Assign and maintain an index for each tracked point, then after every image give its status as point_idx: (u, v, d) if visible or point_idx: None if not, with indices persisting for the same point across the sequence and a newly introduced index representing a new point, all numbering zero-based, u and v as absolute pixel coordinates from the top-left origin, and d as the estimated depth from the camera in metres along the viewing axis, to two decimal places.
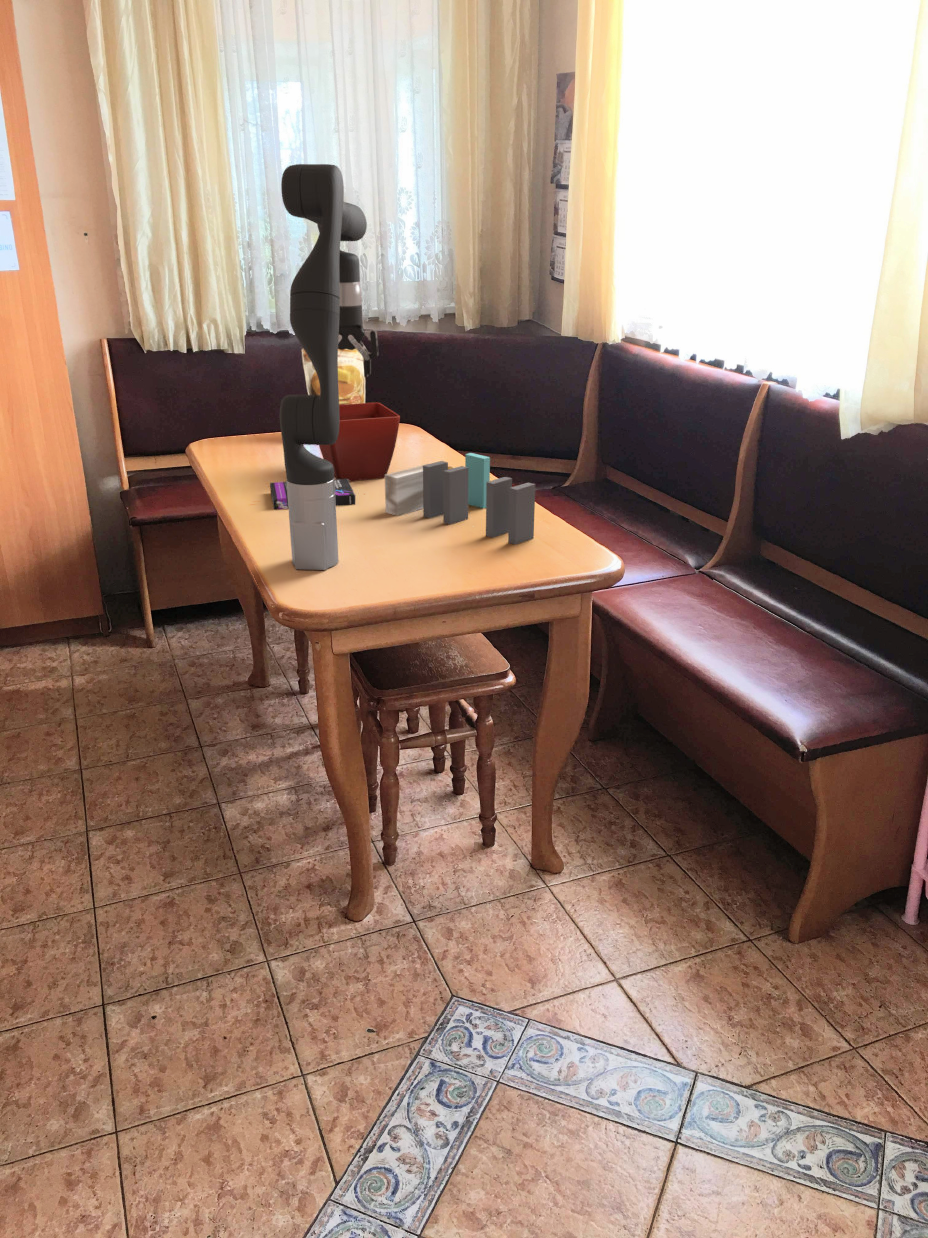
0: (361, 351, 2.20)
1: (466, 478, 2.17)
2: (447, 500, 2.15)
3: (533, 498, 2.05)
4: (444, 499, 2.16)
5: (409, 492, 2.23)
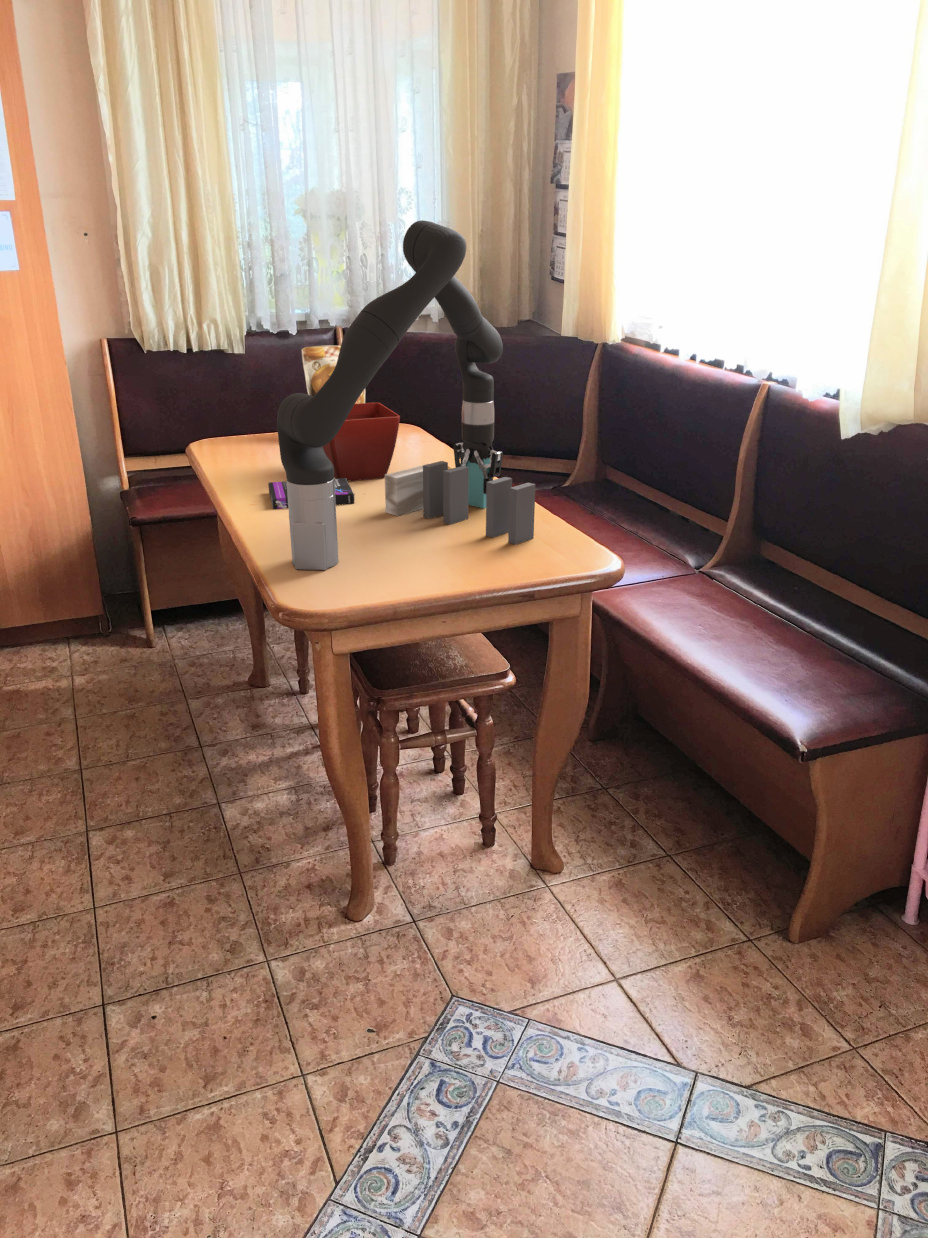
0: None
1: (466, 478, 2.17)
2: (447, 500, 2.15)
3: (533, 498, 2.05)
4: (444, 499, 2.16)
5: (409, 492, 2.23)
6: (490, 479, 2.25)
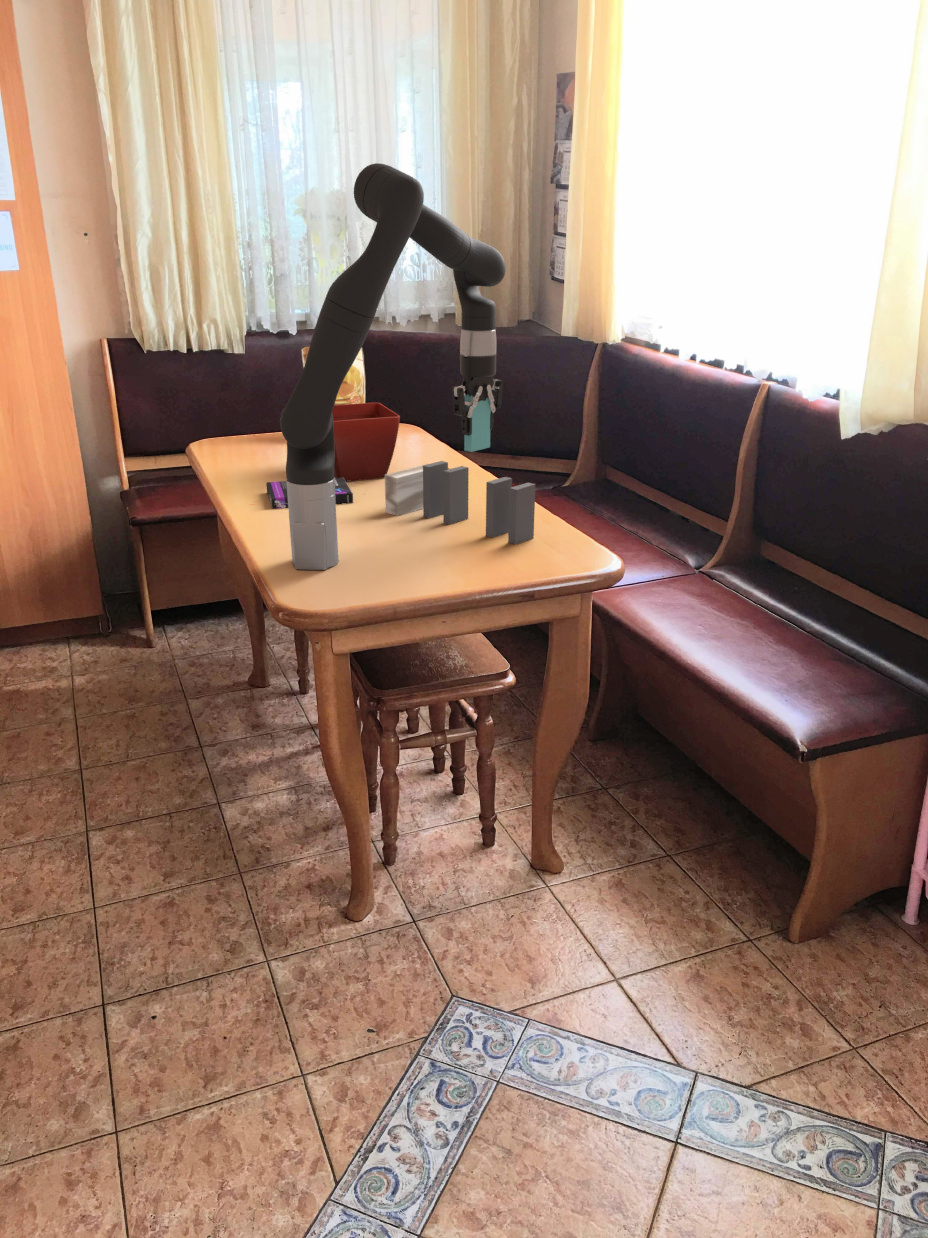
0: None
1: (466, 478, 2.17)
2: (447, 500, 2.15)
3: (533, 498, 2.05)
4: (444, 499, 2.16)
5: (409, 492, 2.23)
6: None
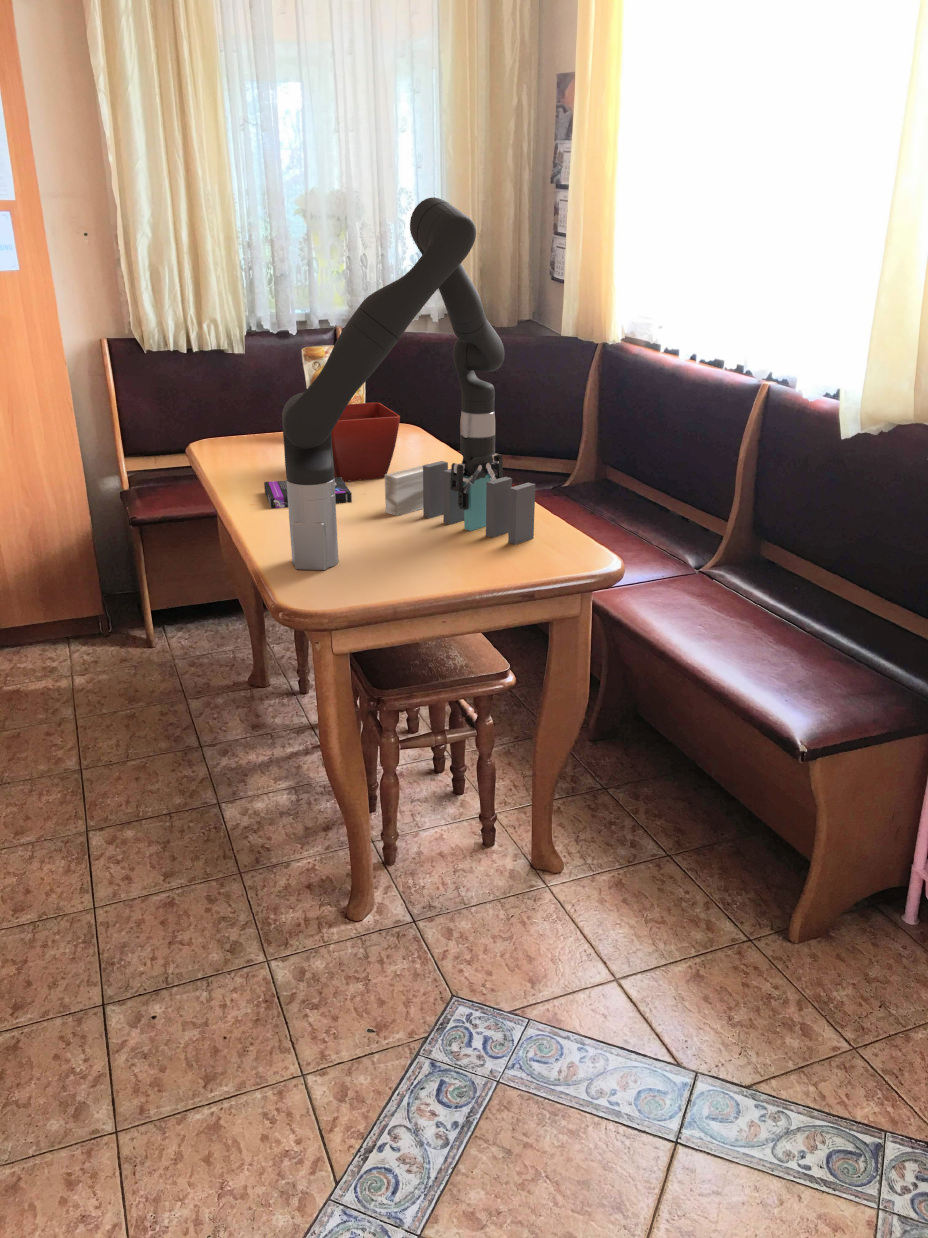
0: None
1: None
2: (447, 500, 2.15)
3: (533, 498, 2.05)
4: (444, 499, 2.16)
5: (409, 492, 2.23)
6: None
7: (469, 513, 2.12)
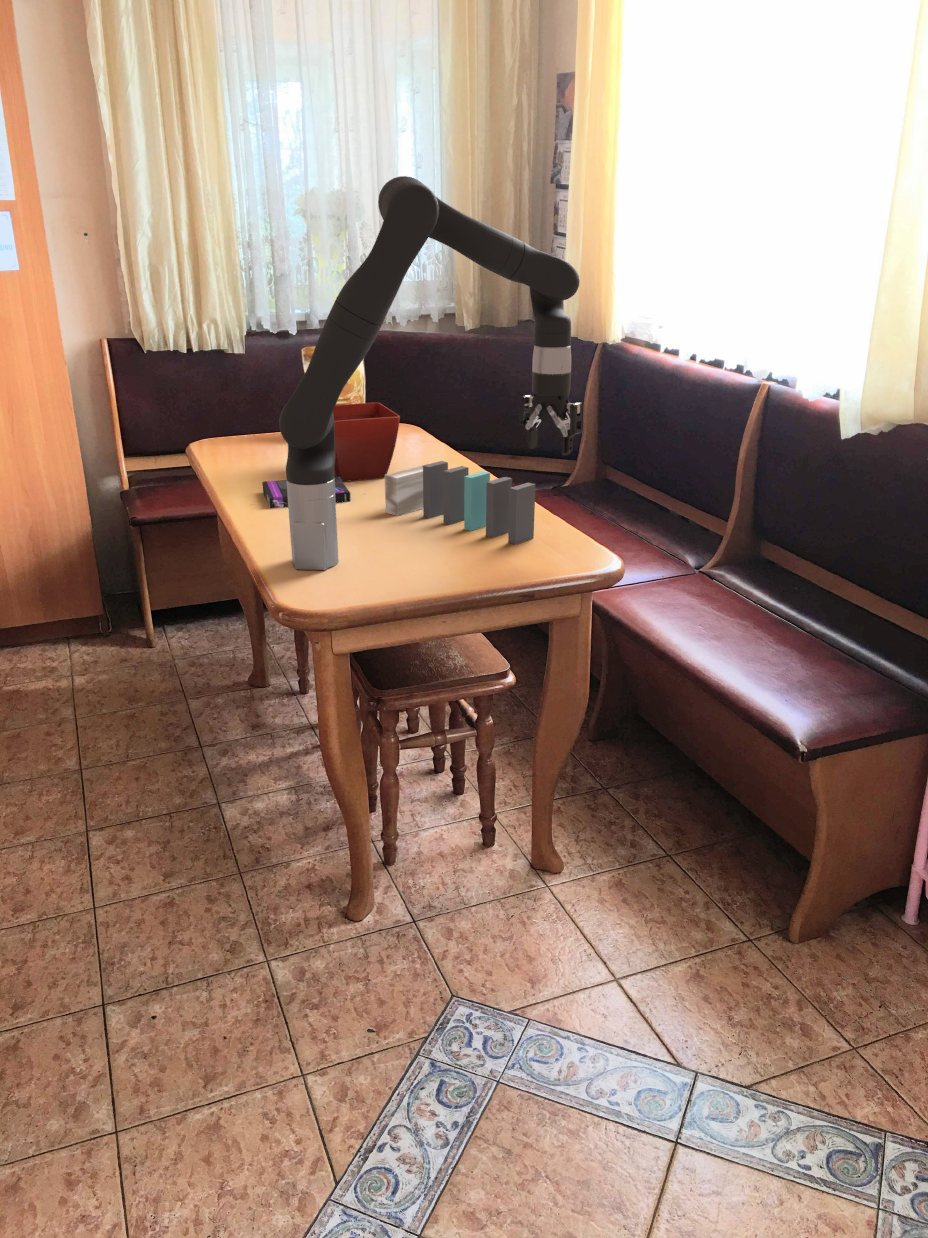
0: None
1: None
2: (447, 500, 2.15)
3: (533, 498, 2.05)
4: (444, 499, 2.16)
5: (409, 492, 2.23)
6: (570, 437, 1.90)
7: (469, 513, 2.12)
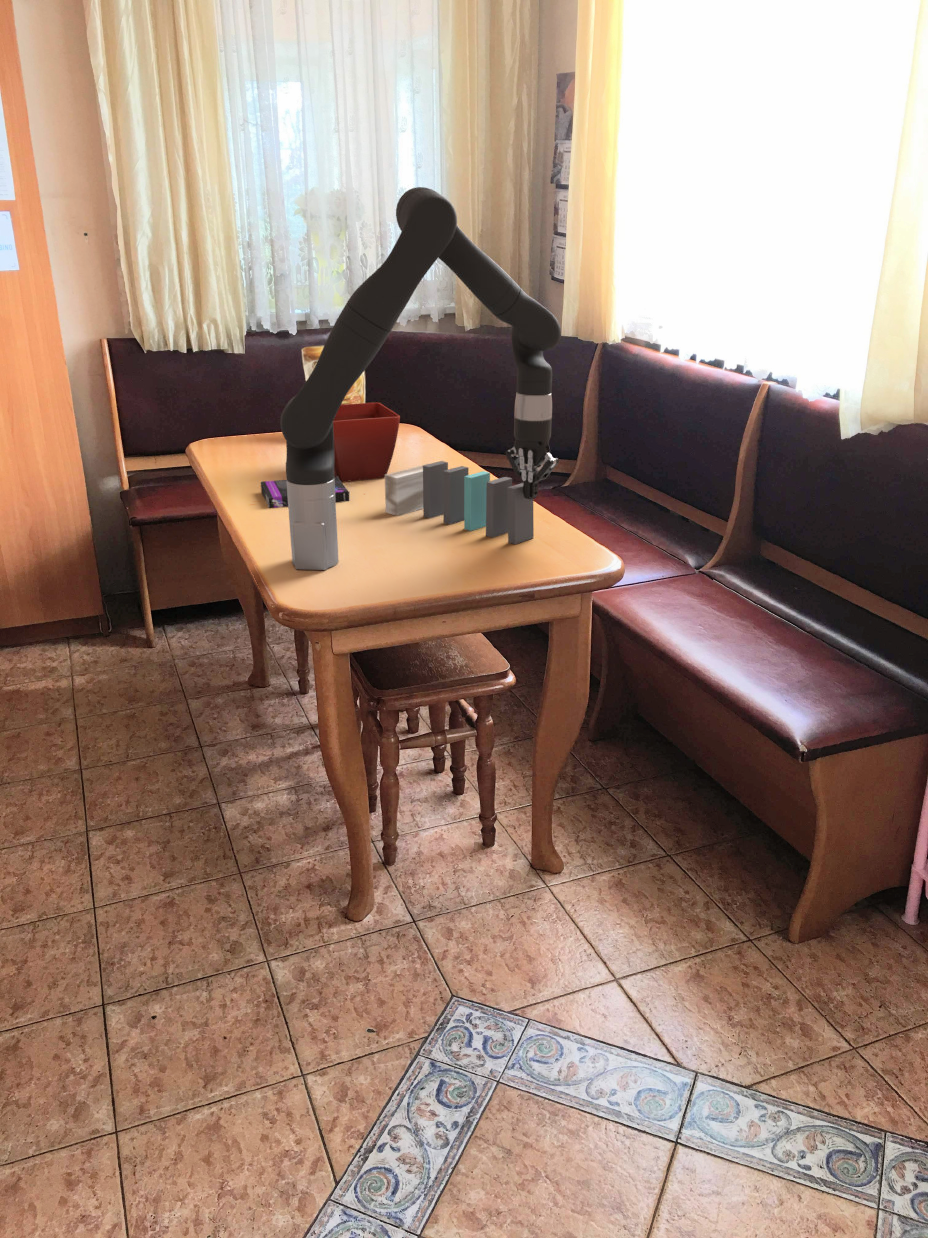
0: None
1: None
2: (447, 500, 2.15)
3: None
4: (444, 499, 2.16)
5: (409, 492, 2.23)
6: (535, 483, 1.99)
7: (469, 513, 2.12)
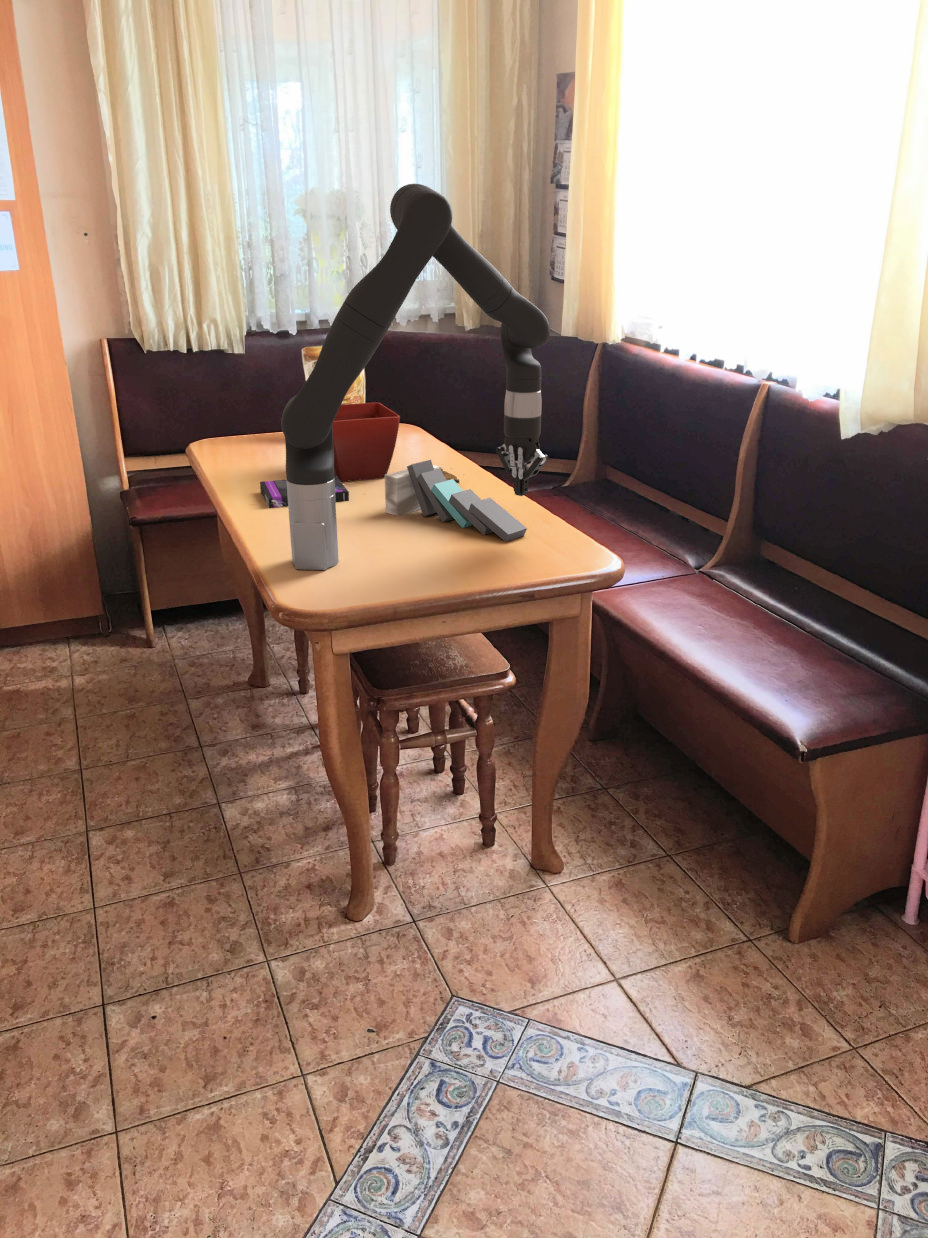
0: None
1: (442, 477, 2.22)
2: (433, 499, 2.18)
3: (497, 505, 2.13)
4: (431, 501, 2.19)
5: (409, 492, 2.23)
6: (525, 479, 2.01)
7: (454, 511, 2.15)
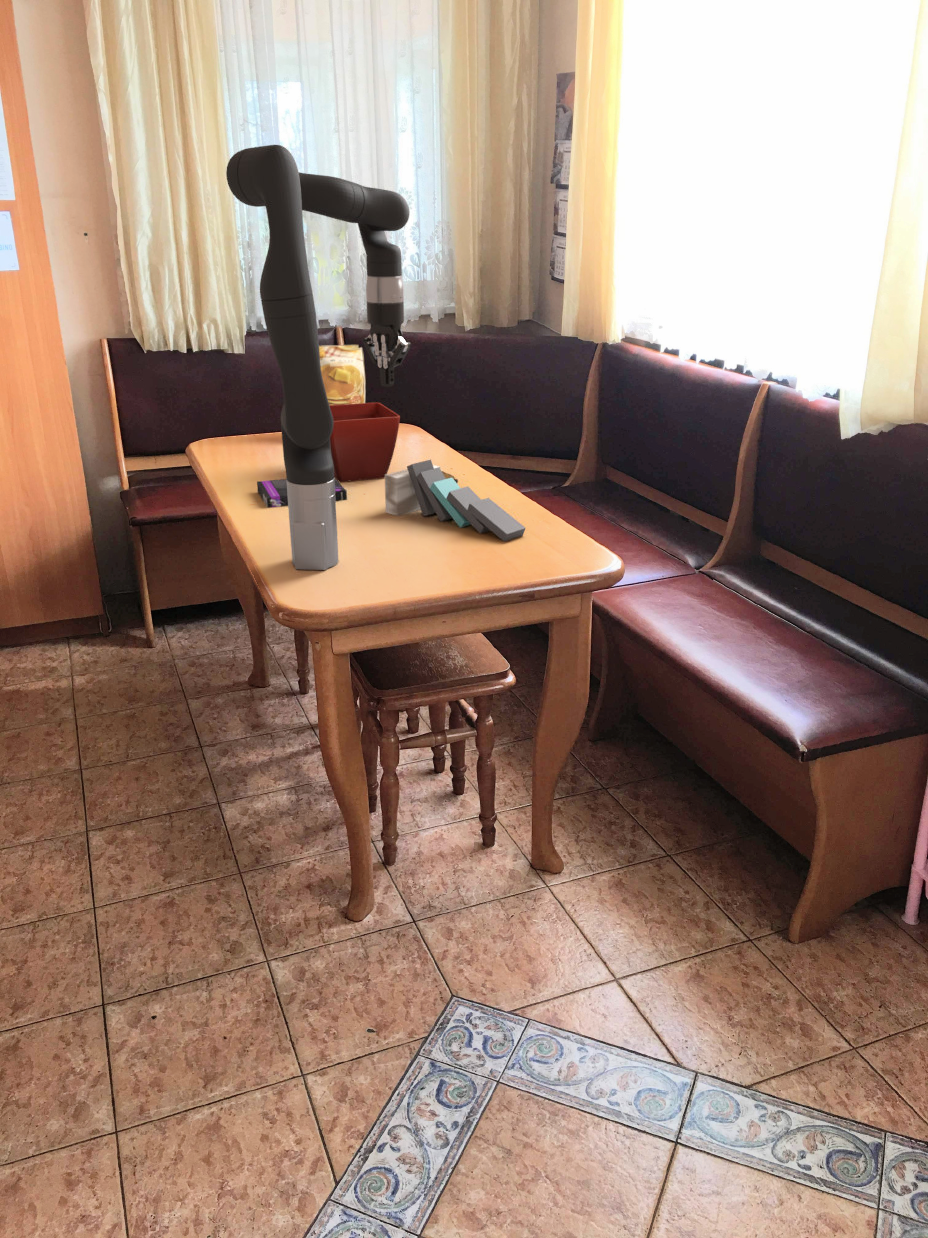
0: None
1: (442, 476, 2.22)
2: (432, 498, 2.19)
3: (496, 505, 2.13)
4: (430, 500, 2.19)
5: (409, 492, 2.23)
6: (390, 369, 2.01)
7: (452, 510, 2.15)
